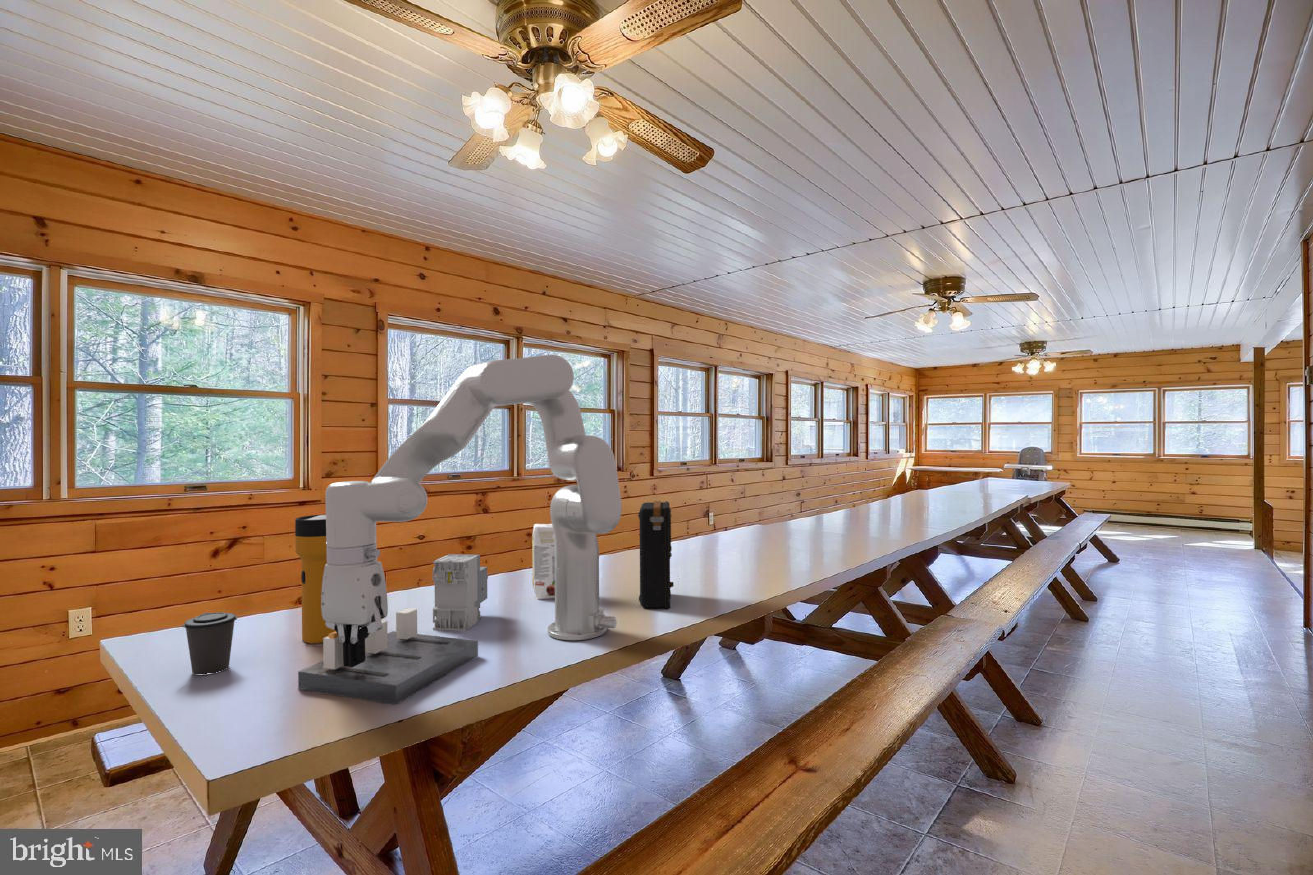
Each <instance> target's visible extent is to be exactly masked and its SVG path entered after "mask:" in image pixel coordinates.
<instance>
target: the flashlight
mask: <svg viewBox="0 0 1313 875" xmlns="http://www.w3.org/2000/svg"><path fill="white" fill-rule="evenodd" d="M294 524H295V525H294V535H295V536H294V538H295V539H294V540H295V544H294V545H295V548H294V549H295V553H296V555H297V556H298V557H299V558H300V560H301V562H300V563H301V566H300V567H301V573H300V578H301V579H300V581H301V638H302V641H304V642H305V643H307V644H321V643H322V644H323V638H325V637H328V636H329V634H330V633H333V632H335V630H333V629H331V628H328V627H327V626H326V621H325V620H324V619H323V617H322V609H321V595H322V582H323V574H324V569H325V565H326V564H327V543H326V513H325V514H314V515H313V514H312V515H305V516H300V517H296V518H295V519H294Z"/></svg>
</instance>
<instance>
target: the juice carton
mask: <svg viewBox="0 0 1313 875" xmlns="http://www.w3.org/2000/svg"><path fill="white" fill-rule="evenodd" d="M531 539H532V540H531V542H532V545H531V546H532V548H531V549H532V550H531V551H532V552H531V554H532V556H531V557H532V559H531V561H532V564H531V565H532V568H531V569H532V573H531V574H532V588H533V590H534V594H535V596H536V598H537V600H547V599H555V544H554V533H553V527H552V523H547V524H546V523H535V524H533V529H532V536H531Z"/></svg>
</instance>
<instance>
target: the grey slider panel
mask: <svg viewBox="0 0 1313 875" xmlns="http://www.w3.org/2000/svg"><path fill="white" fill-rule="evenodd" d="M387 636H388V648H387V649H385V650H383V651H380V652H378V653H376V654H373V653H365V661H364V662H362V663H360V664H358V665H356V666H354V667H349V666H348V667H345V666H341V667H339V668H337V669H335V670H334V669H327V668H323V660H322V661H319V662H318V663H315V664H312V665H310V666H307V667H305V668H303V669H300V670H299V671H298V672H297V674H298V678H297V680H298V681H297V682H298V683H297V684H298V685H297V686H298V687H297V689H298V690H300V689H301V690H300V691H308V692H313V691H315V692H314V693H319V694H327V695H332V696H339V697H344V696H346V697H345V698H351V697H352V699H357V698H358V699H359V700H364V701H370V702H377V703H382V704H390V705H398V704H400V703H401V702H403V701H405V700H406V699H408V698H410V697H411V696H413V695H415V694H416V693H418V692H420V691H422V690H424V689H425V688H427V687H428V686H430V685H432V684H433V683H436V681H439V680H441V679H443V677H446V676H448V675H449V674H450V673H452V672H454V671H456V670H457V669H459V668H461V667H462V666H465V665H466V664H467V663H469V662H471V661H473V660H474V659H477V658H478V657H479V641H478V640H474V639H465V638H456V637H447V636H439V635H431V634H419V633H417V635H415V636H413V637H411V638H409V639H398V638H396V630H395V631H394V630H393V631H390V632H387Z"/></svg>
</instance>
